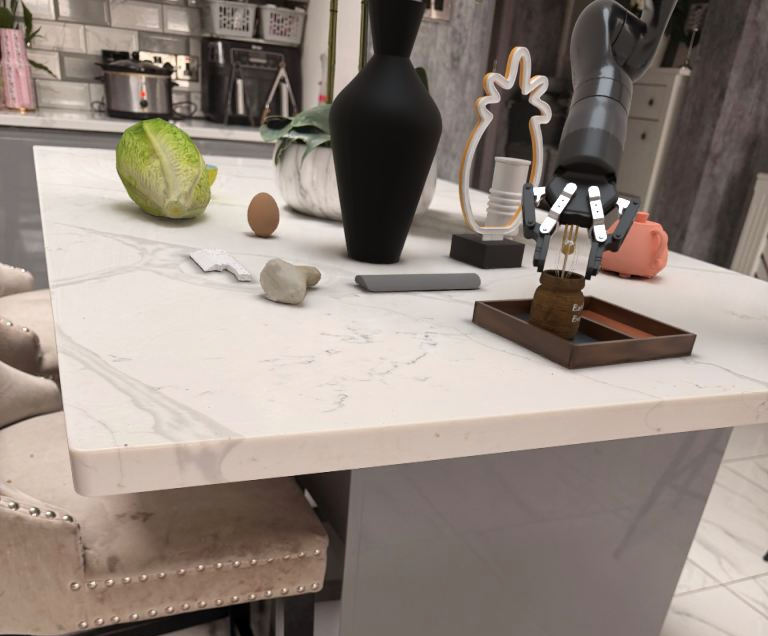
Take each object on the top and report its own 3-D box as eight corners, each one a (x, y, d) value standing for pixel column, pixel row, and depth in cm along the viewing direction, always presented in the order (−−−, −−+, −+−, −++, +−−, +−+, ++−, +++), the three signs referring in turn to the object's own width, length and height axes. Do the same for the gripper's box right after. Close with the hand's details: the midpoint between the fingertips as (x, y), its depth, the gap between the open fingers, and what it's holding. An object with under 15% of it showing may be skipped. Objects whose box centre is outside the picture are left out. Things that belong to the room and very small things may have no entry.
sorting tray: (586, 314, 105) (591, 295, 104) (690, 355, 92) (697, 334, 91) (471, 321, 96) (474, 300, 94) (570, 369, 83) (575, 345, 81)
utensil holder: (526, 337, 89) (546, 229, 83) (527, 323, 94) (546, 221, 88) (577, 344, 88) (601, 236, 82) (575, 330, 94) (598, 227, 88)
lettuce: (223, 250, 134) (129, 255, 130) (203, 185, 150) (118, 187, 145) (219, 166, 123) (116, 168, 119) (198, 104, 139) (106, 104, 134)
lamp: (503, 254, 138) (538, 52, 123) (537, 266, 132) (579, 54, 117) (431, 257, 129) (459, 39, 114) (464, 269, 123) (498, 40, 108)
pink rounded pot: (632, 265, 142) (646, 207, 137) (683, 284, 131) (702, 222, 126) (578, 264, 138) (591, 204, 133) (627, 284, 127) (644, 219, 122)
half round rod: (351, 284, 106) (352, 271, 105) (466, 282, 115) (467, 270, 114) (365, 292, 103) (367, 279, 102) (482, 289, 112) (484, 276, 111)
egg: (241, 235, 128) (241, 191, 125) (255, 231, 133) (256, 188, 130) (270, 240, 127) (271, 196, 124) (284, 236, 132) (285, 193, 128)
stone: (303, 308, 93) (304, 267, 90) (253, 302, 93) (253, 261, 91) (320, 287, 103) (322, 250, 100) (275, 282, 103) (275, 245, 101)
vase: (386, 245, 134) (410, 9, 117) (446, 268, 122) (482, 9, 105) (301, 247, 125) (313, -9, 108) (357, 272, 113) (380, -11, 96)
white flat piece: (213, 281, 100) (213, 272, 99) (189, 255, 111) (189, 248, 111) (251, 280, 102) (251, 271, 101) (223, 255, 113) (223, 248, 113)
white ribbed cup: (516, 248, 146) (531, 163, 138) (480, 243, 146) (493, 158, 139) (517, 242, 151) (532, 160, 144) (482, 238, 152) (495, 155, 145)
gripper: (533, 117, 88) (503, 241, 84) (660, 133, 86) (636, 262, 81) (528, 164, 95) (500, 281, 91) (645, 180, 93) (622, 301, 88)
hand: (564, 271), depth 86 cm, fingers closed on utensil holder, 4 cm apart
